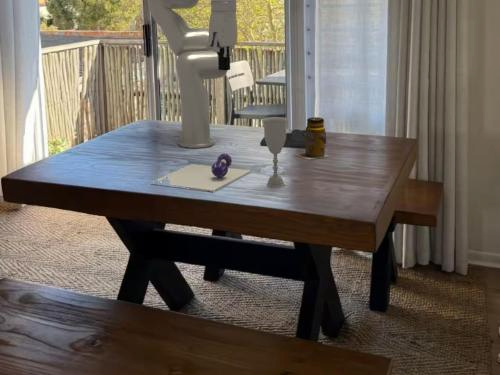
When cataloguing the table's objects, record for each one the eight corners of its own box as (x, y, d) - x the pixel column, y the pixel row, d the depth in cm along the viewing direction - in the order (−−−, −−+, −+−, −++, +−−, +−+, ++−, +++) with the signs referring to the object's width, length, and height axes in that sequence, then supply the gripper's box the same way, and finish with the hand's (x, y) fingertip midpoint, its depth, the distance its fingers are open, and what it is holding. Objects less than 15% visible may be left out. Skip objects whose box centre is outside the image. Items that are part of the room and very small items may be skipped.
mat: (150, 184, 185) (150, 182, 185) (192, 165, 204) (191, 163, 204) (213, 192, 177) (213, 190, 177) (250, 172, 196) (250, 170, 195)
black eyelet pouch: (269, 138, 243) (269, 125, 242) (329, 141, 236) (330, 128, 235) (256, 147, 229) (256, 133, 228) (319, 151, 222) (320, 137, 221)
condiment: (330, 156, 213) (330, 118, 210) (309, 160, 209) (309, 122, 205) (315, 152, 219) (316, 115, 216) (295, 155, 215) (295, 118, 211)
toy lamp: (233, 154, 200) (226, 163, 184) (232, 169, 201) (225, 180, 185) (217, 153, 201) (209, 162, 185) (217, 168, 202) (208, 179, 186)
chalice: (261, 181, 186) (260, 117, 181) (286, 180, 186) (286, 116, 181) (264, 189, 179) (263, 122, 174) (289, 188, 180) (289, 121, 174)
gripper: (225, 6, 208) (226, 66, 214) (199, 8, 196) (200, 72, 201) (246, 7, 205) (246, 67, 210) (221, 9, 192) (222, 74, 198)
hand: (224, 69), depth 206 cm, fingers closed
